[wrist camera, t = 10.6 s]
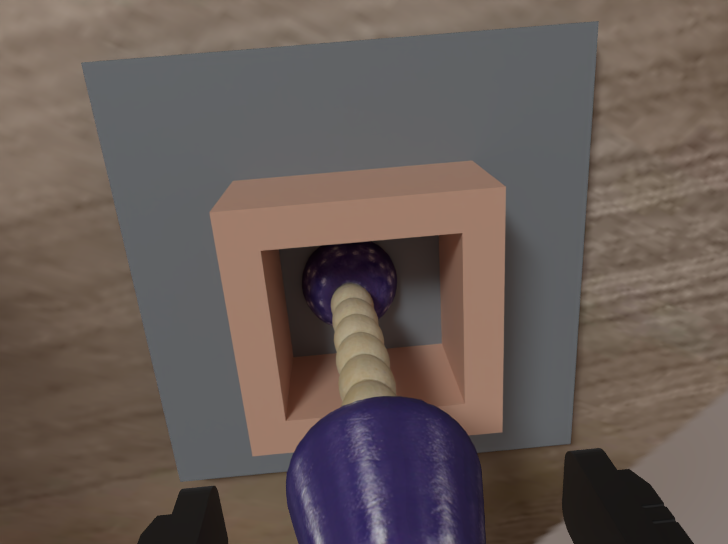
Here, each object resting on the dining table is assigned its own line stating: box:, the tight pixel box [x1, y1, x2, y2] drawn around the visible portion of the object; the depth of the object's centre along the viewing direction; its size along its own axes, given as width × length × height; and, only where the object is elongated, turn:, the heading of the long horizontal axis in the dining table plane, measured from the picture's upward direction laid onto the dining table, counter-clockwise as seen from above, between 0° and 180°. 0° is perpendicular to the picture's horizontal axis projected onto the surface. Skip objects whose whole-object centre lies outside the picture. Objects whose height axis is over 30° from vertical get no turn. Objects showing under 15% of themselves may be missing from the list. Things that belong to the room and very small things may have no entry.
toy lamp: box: [286, 241, 486, 544], centre depth 18 cm, size 5×5×17 cm
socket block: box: [81, 21, 598, 482], centre depth 24 cm, size 20×20×6 cm
